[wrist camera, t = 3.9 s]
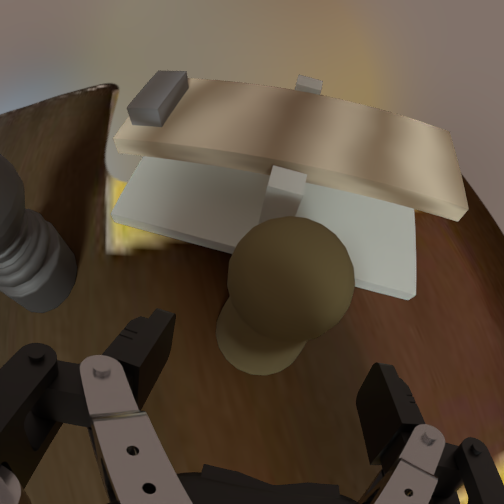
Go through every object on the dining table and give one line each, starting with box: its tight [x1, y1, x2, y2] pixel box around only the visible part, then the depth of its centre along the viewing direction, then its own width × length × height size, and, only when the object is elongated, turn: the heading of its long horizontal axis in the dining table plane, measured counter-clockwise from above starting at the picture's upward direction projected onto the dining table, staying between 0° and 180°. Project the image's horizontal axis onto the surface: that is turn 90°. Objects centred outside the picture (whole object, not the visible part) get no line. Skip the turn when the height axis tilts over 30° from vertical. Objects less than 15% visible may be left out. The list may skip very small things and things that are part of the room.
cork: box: [216, 216, 355, 375], centre depth 16 cm, size 6×6×11 cm
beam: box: [113, 71, 468, 222], centre depth 21 cm, size 24×8×4 cm, turn 76°
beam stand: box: [111, 75, 416, 300], centre depth 24 cm, size 24×14×8 cm, turn 76°
